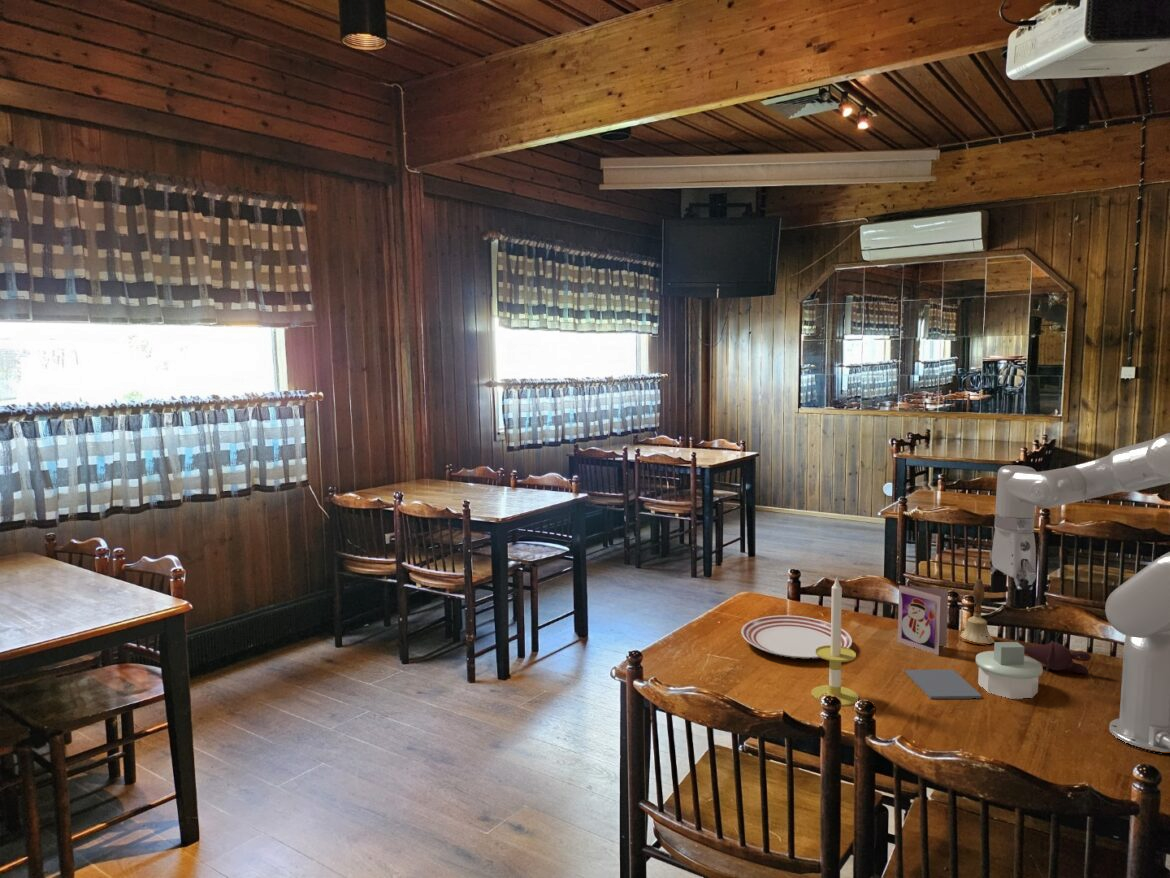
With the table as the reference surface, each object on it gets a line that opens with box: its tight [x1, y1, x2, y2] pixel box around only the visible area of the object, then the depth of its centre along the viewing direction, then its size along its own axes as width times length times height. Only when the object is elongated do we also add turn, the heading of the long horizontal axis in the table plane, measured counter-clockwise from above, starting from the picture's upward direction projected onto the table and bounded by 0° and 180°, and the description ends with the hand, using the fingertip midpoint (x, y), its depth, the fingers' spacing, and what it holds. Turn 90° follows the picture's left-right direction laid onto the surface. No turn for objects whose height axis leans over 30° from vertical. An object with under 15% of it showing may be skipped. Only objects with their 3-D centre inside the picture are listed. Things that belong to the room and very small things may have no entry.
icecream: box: [1023, 640, 1092, 675], centre depth 183 cm, size 7×7×15 cm
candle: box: [810, 577, 860, 707], centre depth 170 cm, size 10×10×27 cm
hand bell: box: [959, 578, 995, 644], centre depth 202 cm, size 8×8×16 cm
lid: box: [975, 641, 1044, 679], centre depth 173 cm, size 13×13×5 cm
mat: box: [904, 669, 983, 700], centre depth 176 cm, size 14×11×1 cm
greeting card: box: [897, 585, 949, 656], centre depth 198 cm, size 11×7×15 cm, turn 33°
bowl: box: [977, 666, 1039, 700], centre depth 173 cm, size 11×11×5 cm
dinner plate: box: [740, 614, 853, 660], centre depth 201 cm, size 28×27×3 cm
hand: (1009, 599), depth 172 cm, fingers open, 9 cm apart
